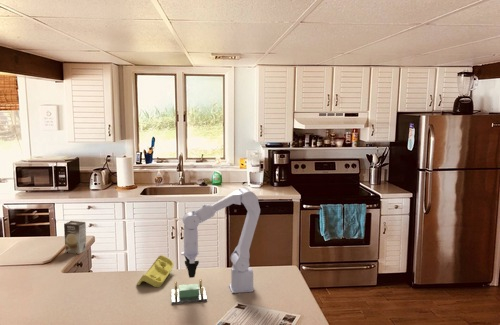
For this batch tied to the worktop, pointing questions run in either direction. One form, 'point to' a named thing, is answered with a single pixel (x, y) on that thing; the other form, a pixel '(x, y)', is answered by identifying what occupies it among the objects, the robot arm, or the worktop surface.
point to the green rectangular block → (188, 290)
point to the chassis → (199, 298)
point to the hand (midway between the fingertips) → (191, 273)
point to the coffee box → (75, 237)
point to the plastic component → (158, 272)
